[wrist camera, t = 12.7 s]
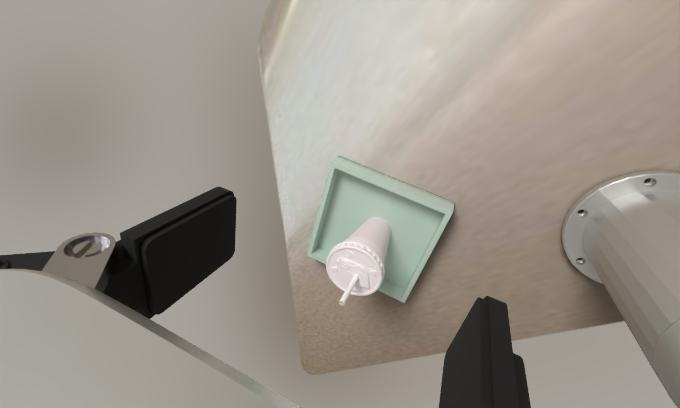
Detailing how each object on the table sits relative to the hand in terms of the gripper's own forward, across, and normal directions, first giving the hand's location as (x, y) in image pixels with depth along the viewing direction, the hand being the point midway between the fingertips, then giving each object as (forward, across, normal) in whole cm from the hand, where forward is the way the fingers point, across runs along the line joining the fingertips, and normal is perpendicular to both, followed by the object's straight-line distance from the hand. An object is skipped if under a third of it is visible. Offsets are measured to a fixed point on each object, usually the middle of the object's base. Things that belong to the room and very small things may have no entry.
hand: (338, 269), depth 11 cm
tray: (+27, +3, +14) cm, 30 cm away
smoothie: (+26, +2, +14) cm, 30 cm away
